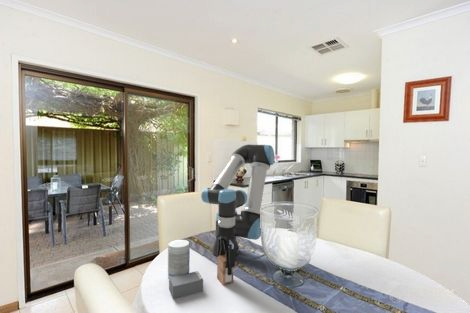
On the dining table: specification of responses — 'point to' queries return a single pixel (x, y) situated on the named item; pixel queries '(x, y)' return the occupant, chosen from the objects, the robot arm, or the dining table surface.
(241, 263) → the dining table surface
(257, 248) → the dining table surface
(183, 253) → the supplement tub
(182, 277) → the grey long rectangular block
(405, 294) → the dining table surface
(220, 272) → the light brown wooden block
